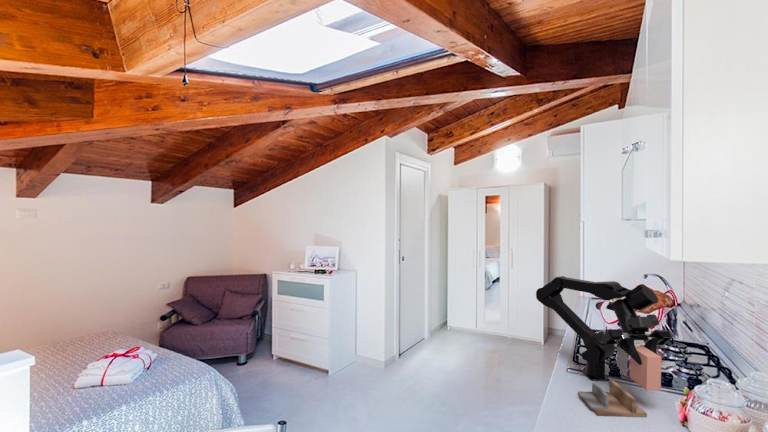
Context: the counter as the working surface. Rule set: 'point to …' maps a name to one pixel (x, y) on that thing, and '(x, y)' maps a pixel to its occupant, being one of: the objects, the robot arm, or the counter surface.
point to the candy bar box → (627, 357)
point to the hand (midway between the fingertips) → (648, 364)
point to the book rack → (612, 401)
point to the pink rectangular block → (646, 369)
